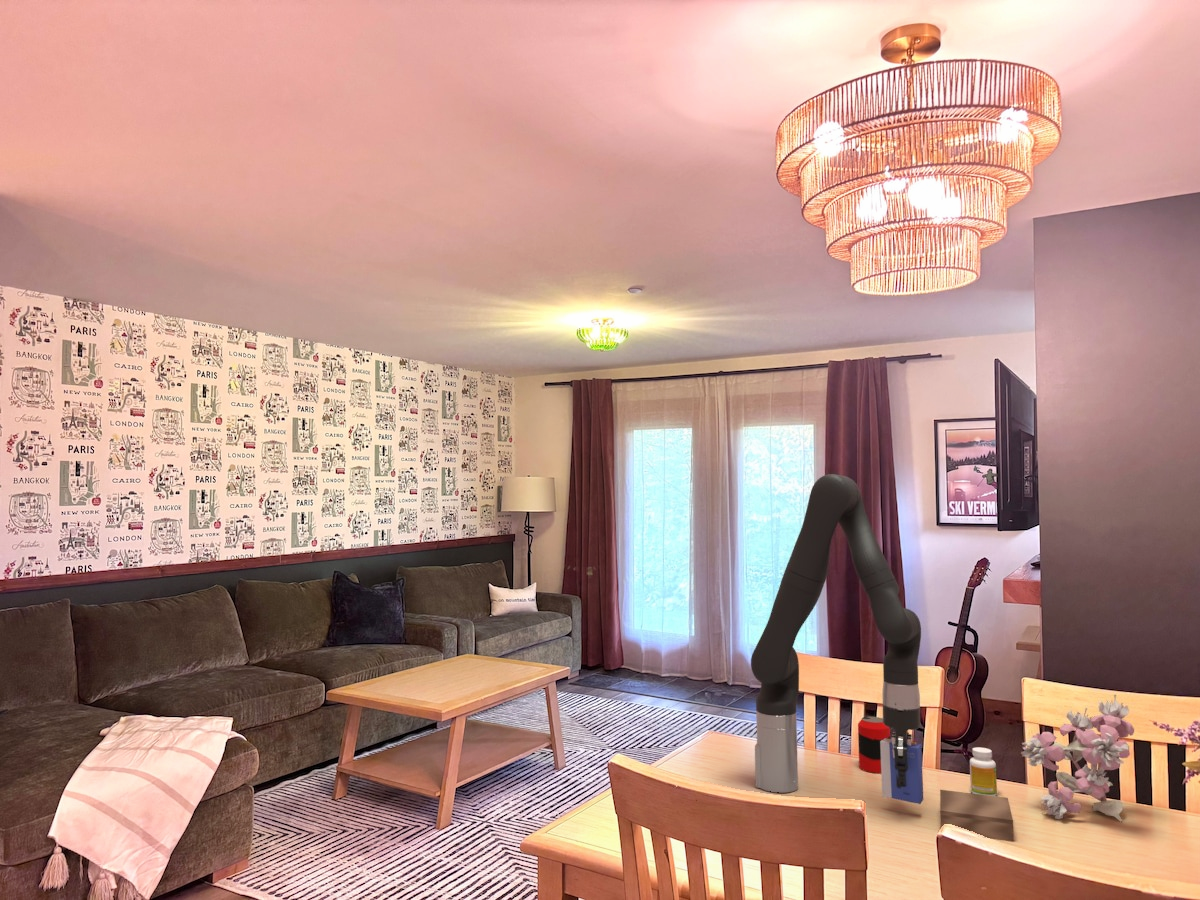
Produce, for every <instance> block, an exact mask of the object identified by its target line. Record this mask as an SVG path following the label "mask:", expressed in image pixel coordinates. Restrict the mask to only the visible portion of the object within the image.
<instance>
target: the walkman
mask: <svg viewBox="0 0 1200 900" xmlns="http://www.w3.org/2000/svg"><path fill="white" fill-rule="evenodd" d="M893 745H894V746H896V743H895V744H892V738H890V739H886V738H885V739H884V740H881V741H880V749H881V774H880V775H881V795H882V797H885V798H890V799H893V800H899V801H903V802H908V803H913V804H917V805H921V804H922V802H923V801H924V800H925V799H924V784H923V783H924V781H923V758H922V757H923V755H922V744H920V743H917V742H916V741H913V740H912V741H911V746H908V745H907V749H908V752H907V764H908V771H905V782H906V787H901V786H900V787H901V789H900V788H897V780H896V774H897V777H898V770H896V769H895V768H894V765H895V758H893ZM898 764H905V763H902V762H898ZM901 775H903V774H901ZM901 779H902V778H901ZM902 783H903V782H902Z"/></svg>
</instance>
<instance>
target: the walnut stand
mask: <svg viewBox="0 0 1200 900" xmlns="http://www.w3.org/2000/svg"><path fill="white" fill-rule="evenodd" d="M939 792H940V793H939V795H940V798H939V806H940V809H939V810H940V828H941V827H942V826H943V825H944V824H952V825H955V826H958V827H961V828H964V829H967V830H969V831H973V832H975V833H977V834H980V835H983V836H985V837H984V838H986V837H988V839H994V840H995V839H996V840H1000V841H1009V842H1014V841H1015V837H1014V836H1015V835H1014V819H1013V818H1014V817H1013V814H1012V811H1011V806H1010V802H1009V797H1006V796H997V795H996V796H989V795H981V794H973V793H972V792H962V791H956V790H955V791H954V790H948V789H947V790H945V789H939Z"/></svg>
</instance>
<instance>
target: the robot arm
mask: <svg viewBox="0 0 1200 900" xmlns="http://www.w3.org/2000/svg"><path fill="white" fill-rule="evenodd" d="M805 510H806V511H805V515H804V518H803V522H802V525H801V528H800V532H799V533H798V536H797V538H796V542H795V543H794V546H793V549H792V552H791V555H790V557H789V559H788V562H787V563H786V567H785V570H784V572H783V575H782V578H781V581H780V583H779V587H778V591H777V593H776V596H775V599H774V602H773V605H772V608H771V612H770V614H769V618H768V619H767V622H766V626H765V627H764V630H763V632H762V634H761V636H760V638H759V640H758V642H757V644H756V646H755V648H754V650H753V652H752V653H751V659H750V667H751V671H752V675H753V676H754V678H755V679H756V680H757V681H758V682H760V683H761V686H760V689H759V693H758V695H757V697H756V699H755V710H756V712H755V713H756V744H755V745H754V768H755V769H754V772H755V773H754V774H755V779H754V780H755V788H757V789H761V790H763V791H766V792H770V791H771V793H777V792H779V793H780V794H784V793H785V794H786V793H792V792H795V791H797V790H798V788H799V775H798V774H799V771H798V768H799V767H798V765H799V764H798V763H799V762H798V727H797V726H798V725H797V722H798V721H797V720H798V719H797V703H798V700H799V694H800V693H799V691H800V690H799V689H800V684H799V683H800V662H799V657H798V654H797V651H796V649H795V648H794V645H795V641H796V639H797V636H798V635H799V632H800V630H801V628H802V627H803V625H804V623H805V622H807V619H808V618H809V617H810V615H811V613H812V612H813V610H814V608H815V606H816V605H817V604H818V601H819V599H820V596H821V594H822V591H823V588H824V586H825V583H826V580H827V577H828V573H829V567H830V556H831V555H830V554H831V552H830V551H831V544H832V539H833V536H834V533H835V531H836V528H837V526H838V524H839V526H840V527H841V530H842V531H843V533H844V536H845V538H846V541H847V543H848V544H847V545H848V548H849V551H850V555H851V560H852V564H853V567H854V569H855V572H856V575H857V577H858V580H859V581H860V584H861V586H862V588H863V590H864V592H865V595H866V596H867V598H868V600H869V604H870V609H871V613H872V616H873V619H874V623H875V626H876V628H877V630H878V632H879V633H880V635H881V636H882V637H883V639H884V640H885V641H887V642H888V645H887V646H888V647H887V652H886V654H885V655H884V658H883V664H882V665H883V666H882V669H883V671H882V672H883V674H882V675H883V677H882V679H883V682H882V718H883V723H884V725H886V726H888V727H890V729H894V731H893V732H892V733H891V739H892V744H895V743H896V746H894V745H893V758H895V765H894V768H895V769H896V770H898V777H897V774H896V780H897V788H900V789H901V787H906V782H905V771H908V764H907V752H908V749H907V745H908V746H911V741H912V742H913V737H912V734H911V733H910V732H909V730H911V731H912V730H918V729H919V728H920V727H921V696H920V695H921V694H920V687H919V666H918V660H919V654H920V647H921V639H922V627H921V621H920V618H919V616H918V615H917V614H916V613H915V612H914V611H913V610H911V609H909V608H905V607H903V605H902V603H901V600H900V598H899V597H900V596H899V593H900V587H899V583H898V582H897V580H896V577H895V576H894V575H895V574H893V571H892V569H891V567H890V566H889V564H888V561H887V560H886V559H887V558H886V557H885V555H884V553H883V551H882V548H881V547H880V545H879V543H878V541H877V538H876V536H875V533H874V531H873V529H872V526H871V523H870V520H869V518H868V514H867V511H866V507H865V504H864V501H863V497H862V494H861V491H860V488H859V486H858V483H856V482H855V480H853V479H852V478H850V477H848V476H846V475H843V474H835V473H832V474H831V473H829V474H825V475H823V476H820V477H819V478H818V479H817V480H816V481H815V483H814V484H813V485H812V488H811V490H810V493H809V498H808V501H807V507H806V509H805ZM898 762H902V763H905V764H898ZM901 774H903V775H901ZM901 778H902V779H901ZM902 782H903V783H902ZM900 786H901V787H900Z"/></svg>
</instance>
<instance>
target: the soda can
mask: <svg viewBox="0 0 1200 900" xmlns="http://www.w3.org/2000/svg"><path fill="white" fill-rule="evenodd" d="M857 735H858V736H857V737H858V767H859V768H860V769H861V770H862V771H863V772H866V771H868V772H867V773H870V772H875V773H874V774H879V773H881V749H880V741H881V740H884V739H885V738H886V739H891V728H890V727H888V726H886V725H884V723H883V717H877V716H864V717H862V718H861V720H860V721H859V722H858V723H857Z"/></svg>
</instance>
